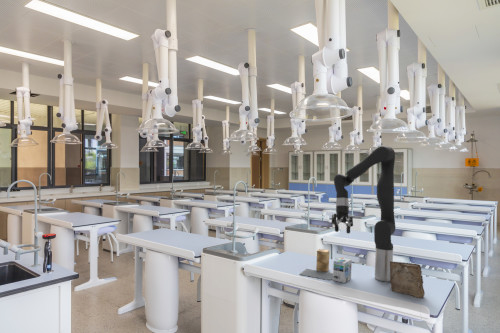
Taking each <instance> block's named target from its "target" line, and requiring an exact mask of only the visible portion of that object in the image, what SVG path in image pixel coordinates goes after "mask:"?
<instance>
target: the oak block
mask: <svg viewBox="0 0 500 333" xmlns="http://www.w3.org/2000/svg"><path fill="white" fill-rule="evenodd" d="M315 270H317V271H322V272H328V271H329V270H330V250H329V249H324V248H319V249H318V250H316V267H315Z"/></svg>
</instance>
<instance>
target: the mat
mask: <svg viewBox="0 0 500 333" xmlns="http://www.w3.org/2000/svg"><path fill="white" fill-rule="evenodd" d="M299 276H303V277H311V278H314V277H315V279H319V278H321V279H320V280H325V279H327V280H326V281H330V280H331V281H332V280H333V279H332V278H333V272H328V271H327V272H322V271H317V270H316V269H309V268H306V269H304V270H303V271H301V273H299Z"/></svg>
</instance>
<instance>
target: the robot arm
mask: <svg viewBox="0 0 500 333" xmlns="http://www.w3.org/2000/svg"><path fill="white" fill-rule="evenodd" d="M395 159H396V152H395V150H394V149H393V147H390V146H386V145H380V146H378V147H376V148H375V149H374V150H373V151H372V152H371V153H369V155H367V156H366V157H365V158H363V159H362V160H361V161H360V162H358V163H356V164H355V165H353V166H352V167H350V168H349V169H348V170H346V175H344V174H342V173H338V174H336V175H335V176H334V177H333V184H334V188H335V192H336V198H335V199H336V201H335V213H332V215H331V224H332V225H334V231H335V232H336V233H338V232H339V228H340V226H339V225H340V223H343V224H344V225H345V227H346V228H345V229H346V230H345V231H346V234H350V233H351V227H354V221H353V217H354V216H349V213H350V211H349V210H350V207H349V206H350V204H349V203H350V202H349V191H348V189H346V188H345V187H348V186H350V185H351V184H352V183H353V182H354V181H355V180H357V179H358V178H360V177H361V176H362V175H364V174H365V173H366V172H367V171H369V169H370V168H371V167H373V166H375V165H376V164H380V173H379V177H378V180H377V183H376V199H377V202H378V206H379V208H380V220H378V221H377V222H376V223H375V225H374V231H373V232H374V234H373V235H374V244H375V252H374V253H375V254H374V256H375V258H374V261H375V262H374V279H376V280H377V281H380V282H390V276H391V274H390V262H389V261H392V262H394V244H393V243H392V235H394V234H395V232H396V221H395V174H394V173H395V170H394V169H395V161H396V160H395Z"/></svg>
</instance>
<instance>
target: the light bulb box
mask: <svg viewBox="0 0 500 333" xmlns="http://www.w3.org/2000/svg"><path fill="white" fill-rule="evenodd" d="M352 263H353V262H352V259H350V258H349V259H348V258H345V257H339V258H337V259H335V260H334V261H333V267H332V268H333V272H332V273H333V279H332V280H333V281H334V282H338V283H343V284H346V283H347V282H348V281H350V280H351V279H352V266H353V265H352Z"/></svg>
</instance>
